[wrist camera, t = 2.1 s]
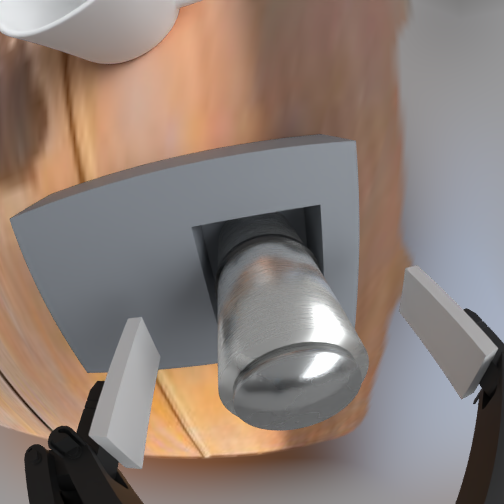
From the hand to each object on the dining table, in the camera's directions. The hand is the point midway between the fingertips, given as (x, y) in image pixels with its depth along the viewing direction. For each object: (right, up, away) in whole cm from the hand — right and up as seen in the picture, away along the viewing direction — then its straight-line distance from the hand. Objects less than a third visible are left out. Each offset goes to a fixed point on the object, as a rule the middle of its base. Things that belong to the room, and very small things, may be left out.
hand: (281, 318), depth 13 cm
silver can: (-1, +4, +7) cm, 8 cm away
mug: (-9, +20, +1) cm, 22 cm away
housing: (-6, +4, +9) cm, 12 cm away
